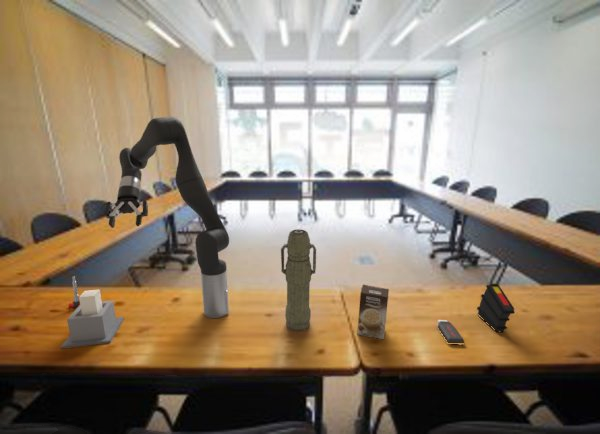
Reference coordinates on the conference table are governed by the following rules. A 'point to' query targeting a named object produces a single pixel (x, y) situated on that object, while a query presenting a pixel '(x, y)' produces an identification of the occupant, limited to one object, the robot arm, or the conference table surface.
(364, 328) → the coffee box
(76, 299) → the tow hook
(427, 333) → the conference table surface
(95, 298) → the white square block
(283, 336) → the conference table surface
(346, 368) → the conference table surface
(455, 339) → the usb drive
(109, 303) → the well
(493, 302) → the black ridged case
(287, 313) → the thermos
